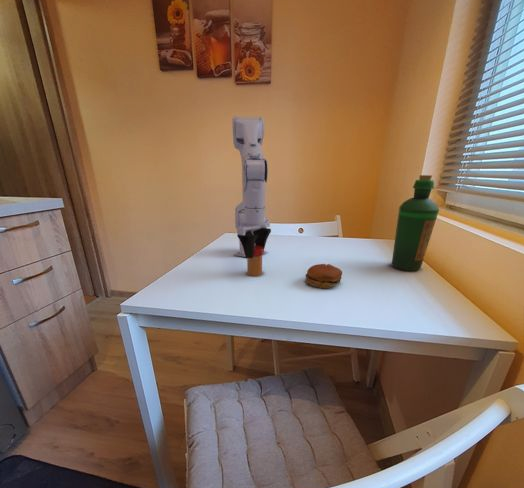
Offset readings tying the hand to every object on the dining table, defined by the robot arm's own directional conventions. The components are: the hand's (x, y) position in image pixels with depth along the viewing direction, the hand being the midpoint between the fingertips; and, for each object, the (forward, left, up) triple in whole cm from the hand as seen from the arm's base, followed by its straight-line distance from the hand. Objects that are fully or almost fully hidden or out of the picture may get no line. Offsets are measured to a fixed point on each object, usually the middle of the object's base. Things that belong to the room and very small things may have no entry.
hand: (254, 255), depth 82 cm
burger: (-4, +20, -6) cm, 21 cm away
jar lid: (0, 0, +2) cm, 2 cm away
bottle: (-31, +39, -6) cm, 50 cm away
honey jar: (0, 0, -6) cm, 6 cm away
